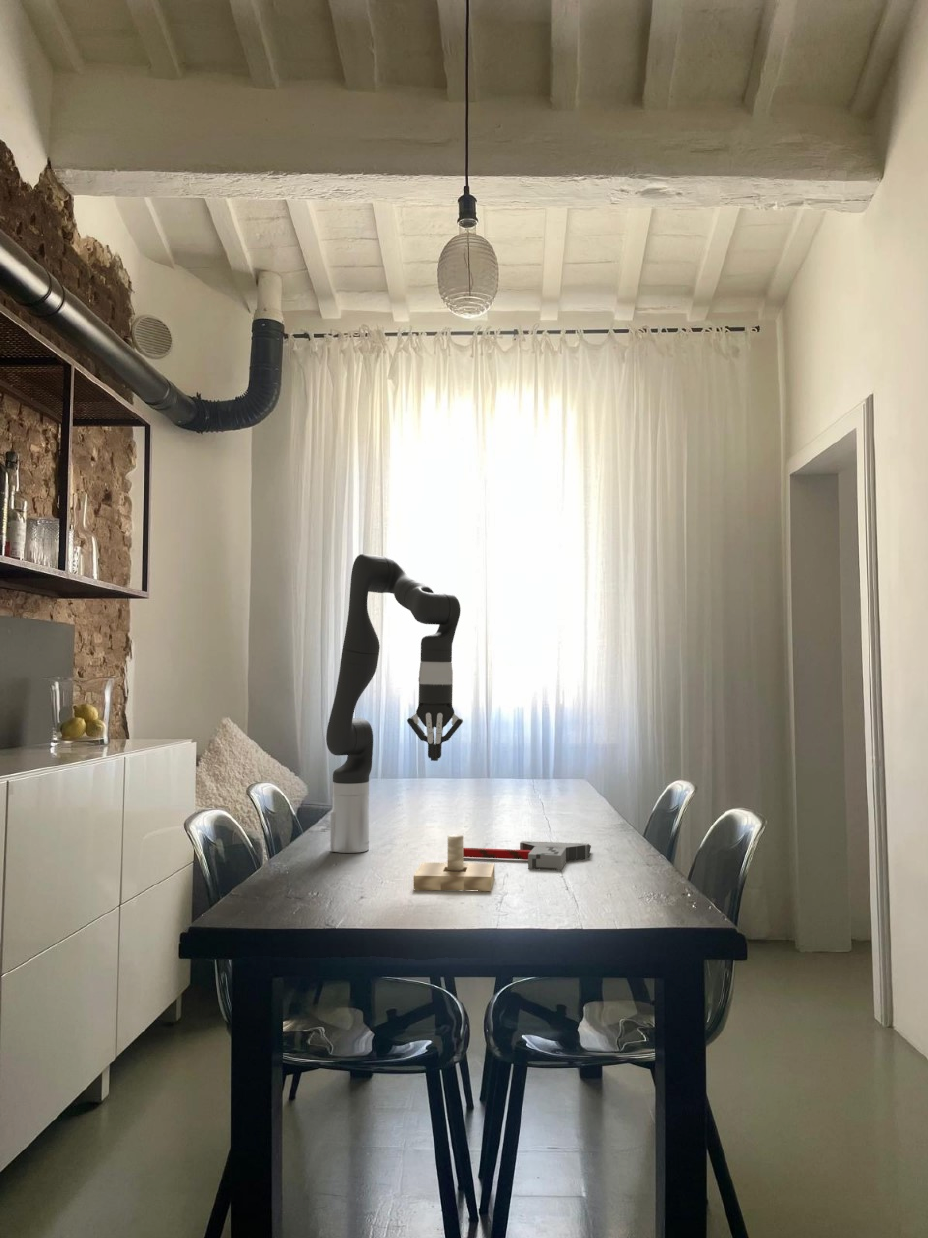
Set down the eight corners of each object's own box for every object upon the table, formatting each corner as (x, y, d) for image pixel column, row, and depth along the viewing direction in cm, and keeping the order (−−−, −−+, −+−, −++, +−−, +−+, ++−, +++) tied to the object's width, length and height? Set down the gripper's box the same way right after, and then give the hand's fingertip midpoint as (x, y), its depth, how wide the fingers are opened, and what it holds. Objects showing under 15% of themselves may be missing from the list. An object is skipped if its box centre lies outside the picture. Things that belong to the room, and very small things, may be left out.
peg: (446, 885, 202) (446, 837, 203) (448, 882, 206) (448, 834, 206) (463, 885, 202) (463, 837, 203) (464, 882, 206) (464, 835, 206)
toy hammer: (473, 834, 247) (590, 838, 240) (473, 849, 247) (591, 854, 240) (452, 851, 223) (581, 856, 217) (452, 867, 223) (581, 873, 217)
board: (413, 890, 198) (413, 875, 198) (422, 876, 212) (422, 862, 212) (491, 891, 196) (491, 876, 196) (494, 877, 210) (494, 863, 210)
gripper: (466, 682, 217) (465, 759, 217) (408, 681, 218) (407, 758, 218) (463, 683, 210) (462, 763, 209) (403, 682, 211) (402, 761, 210)
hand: (434, 760), depth 213 cm, fingers closed
